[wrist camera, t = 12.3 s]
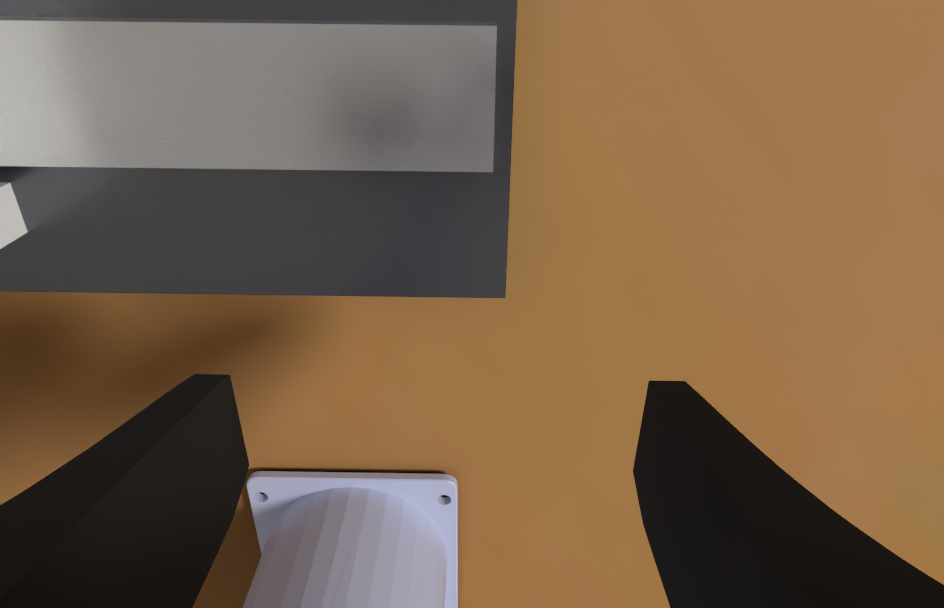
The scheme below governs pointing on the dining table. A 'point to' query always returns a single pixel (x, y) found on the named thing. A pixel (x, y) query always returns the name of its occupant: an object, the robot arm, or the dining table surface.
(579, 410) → the dining table surface
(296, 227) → the rail backplate
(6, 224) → the block
